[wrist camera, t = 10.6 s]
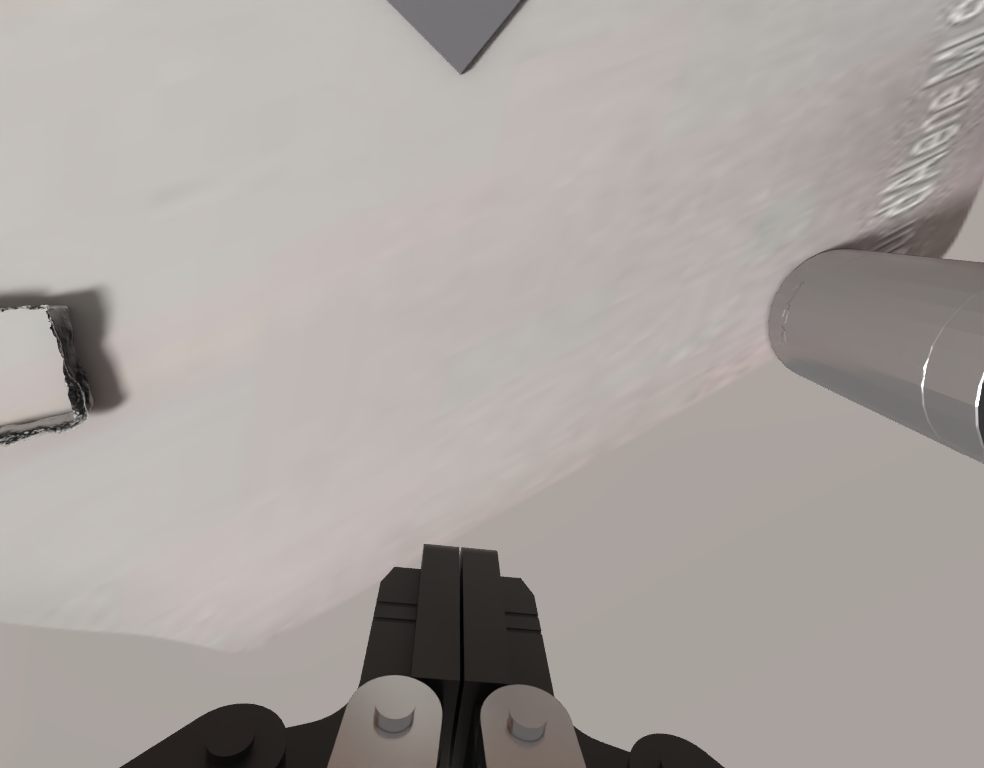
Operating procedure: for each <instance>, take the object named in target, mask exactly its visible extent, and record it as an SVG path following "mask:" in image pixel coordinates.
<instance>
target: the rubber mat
mask: <svg viewBox="0 0 984 768" xmlns="http://www.w3.org/2000/svg"><path fill="white" fill-rule="evenodd" d="M387 1H388V2H389V3H390V4H391V5H392V6H393V7H394V8H395V9H396V10H397V11H398V12H399V13H400V14H401V15H402V16H403V17H404V18H405V19H406V20H407V21H408V22H409V23H410V24H411V25H412V26H413V27H414V28H415V29H416V30H417V31H418V32H419V33H420V34H421V35H422V36H423V37H424V38H425V39H426V40H427V41H428V42H429V43H430V44H431V45H432V46H433V47H434V48H435V49H436V50H437V51H438V52H439V53H440V54H441V55H442V56H443V57H444V58H445V59H446V60H447V61H448V62H449V63H450V64H451V65H452V66H453V67H454V68H455V69H456V70H457V71H458V72H459V73H460V74H462V73H463V72H464V71H465V69H466V68H467V67H468V66H469V65H470V63H471V62H472V61H473V60H474V58H475V57H476V56H477V55H478V54H479V52H480V51H481V50H482V49H483V47H484V46H485V45H486V44H487V42H488V41H489V40H490V39H491V38H492V36H493V35H494V34H495V33H496V31H497V30H498V29H499V28H500V27H501V25H502V24H503V23H504V22H505V20H506V19H507V18H508V17H509V15H510V14H511V13H512V12H513V11H514V9H515V8H516V7H517V6H518V4H519V3H520V2H521V1H522V0H387Z"/></svg>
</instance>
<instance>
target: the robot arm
mask: <svg viewBox="0 0 984 768" xmlns="http://www.w3.org/2000/svg"><path fill="white" fill-rule="evenodd" d="M768 322H769V337H770V341H771V345H772V348H773V350H774V352H775V353H776V355H777V357H778V359H779V360H780V361H781V362H782V363H783V364H784V365H785V366H786V367H787V368H788V369H790V370H791V371H793V372H795V373H796V374H798V375H800V376H802V377H804V378H806V379H808V380H810V381H812V382H814V383H816V384H819V385H820V386H823V387H825V388H827V389H828V390H830V391H833V392H835V393H837V394H839V395H841V396H843V397H845V398H847V399H849V400H851V401H853V402H855V403H857V404H860V405H862V406H864V407H866V408H868V409H870V410H872V411H874V412H876V413H878V414H880V415H882V416H885V417H886V418H889V419H891V420H893V421H895V422H897V423H899V424H901V425H903V426H905V427H907V428H909V429H912V430H914V431H916V432H918V433H920V434H922V435H924V436H926V437H928V438H931V439H932V440H934V441H936V442H938V443H941V444H943V445H945V446H947V447H949V448H951V449H953V450H955V451H957V452H959V453H961V454H964V455H966V456H969V457H970V458H973V459H975V460H977V461H979V462H981V463H983V464H984V263H981V262H971V261H961V260H952V259H942V258H932V257H922V256H911V255H901V254H894V253H884V252H874V251H864V250H854V249H838V250H831V251H827V252H824V253H820V254H818V255H816V256H814V257H812V258H810V259H808V260H806V261H805V262H804V263H802V264H801V265H800V266H798V267H797V268H796V269H794V271H793V272H792V273H791V274H790V275H789V276H788V277H787V278H786V279H785V280H784V282H783V283H782V285H781V287H780V288H779V290H778V292H777V293H776V295H775V298H774V301H773V303H772V306H771V310H770V315H769V321H768ZM120 768H724V767H723V766H722V765H720V764H719V763H718V762H717V761H716V760H714V759H713V758H712V757H710V756H709V755H708V754H707V753H706V752H704V751H703V750H702V749H700V748H699V747H697V746H696V745H694V744H693V743H691V742H689V741H687V740H685V739H682V738H680V737H676V736H674V735H668V734H651V735H647V736H645V737H643V738H641V739H640V740H638V741H637V742H636V744H634V746H633V748H632V750H631V752H627V751H625V750H622V749H619V748H616V747H613V746H611V745H608V744H605V743H603V742H600V741H598V740H595V739H593V738H591V737H589V736H587V735H586V734H584V733H582V732H581V731H580V730H578V729H577V728H575V727H574V726H573V723H572V721H571V718H570V716H569V714H568V712H567V710H566V709H565V708H564V707H563V705H562V704H561V703H560V702H559V701H558V700H557V699H556V698H555V697H554V694H553V688H552V683H551V678H550V673H549V668H548V663H547V658H546V653H545V648H544V643H543V638H542V635H541V628H540V623H539V619H538V613H537V608H536V603H535V597H534V595H533V593H532V592H531V591H530V590H529V588H528V587H527V586H526V584H525V583H524V582H523V581H522V579H521V578H512V577H501V576H500V569H499V561H498V554H497V551H494V550H484V549H474V548H463V547H462V548H461V552H460V558H459V547H452V546H441V545H431V544H424V547H423V555H422V563H421V569H412V568H402V567H394V568H393V569H392V570H391V571H390V572H389V574H388V575H387V576H386V577H385V578H384V579H383V580H382V581H381V583H380V588H379V593H378V597H377V603H376V607H375V612H374V617H373V622H372V626H371V631H370V636H369V641H368V646H367V651H366V656H365V660H364V666H363V670H362V675H361V680H360V684H359V687H358V689H357V691H355V692H354V694H353V695H352V697H351V698H350V700H349V702H348V703H347V704H346V705H345V706H344V707H343V708H341V709H340V710H339V711H337V712H336V713H334V714H332V715H330V716H328V717H326V718H324V719H322V720H318V721H315V722H311V723H307V724H302V725H297V726H293V727H288V728H285V726H284V724H283V722H282V720H281V719H280V718H279V717H278V715H277V714H275V713H274V712H273V711H271V710H270V709H267V708H265V707H263V706H259V705H255V704H233V705H227V706H224V707H220V708H217V709H215V710H213V711H210V712H208V713H206V714H204V715H203V716H201V717H199V718H198V719H196V720H194V721H193V722H191V723H190V724H188V725H186V726H185V727H183V728H182V729H180V730H178V731H177V732H175V733H174V734H172V735H171V736H169V737H167V738H166V739H164V740H163V741H161V742H160V743H158V744H156V745H155V746H153V747H152V748H150V749H148V750H147V751H145V752H144V753H142V754H140V755H139V756H137V757H136V758H134V759H133V760H131V761H130V762H128V763H126V764H125V765H123V766H121V767H120Z"/></svg>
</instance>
